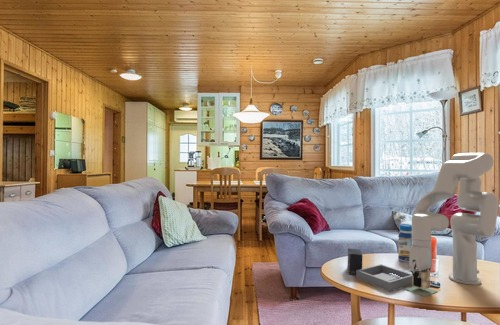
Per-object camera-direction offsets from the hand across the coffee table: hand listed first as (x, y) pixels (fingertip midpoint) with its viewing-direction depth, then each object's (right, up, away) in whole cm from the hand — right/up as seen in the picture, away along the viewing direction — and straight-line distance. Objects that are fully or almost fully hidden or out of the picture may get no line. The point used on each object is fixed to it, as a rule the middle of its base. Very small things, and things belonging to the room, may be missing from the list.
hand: (421, 284), depth 139 cm
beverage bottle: (+15, -3, +44) cm, 46 cm away
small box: (-21, -3, +24) cm, 32 cm away
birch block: (0, -1, 0) cm, 1 cm away
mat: (0, -3, 0) cm, 3 cm away
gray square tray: (-11, -3, +11) cm, 16 cm away
